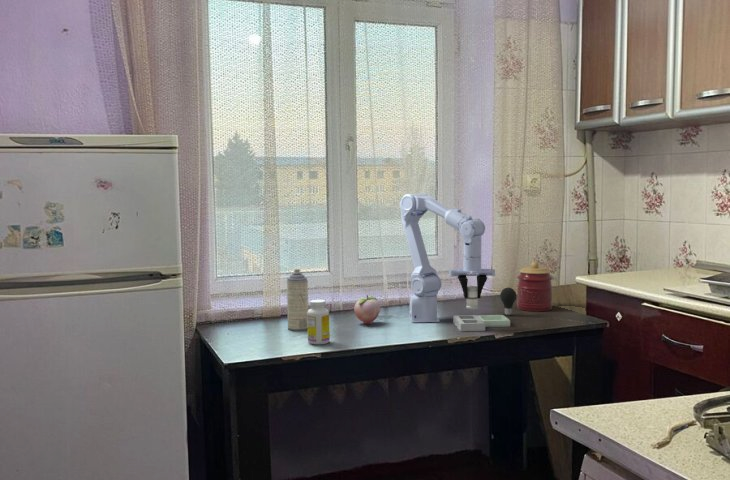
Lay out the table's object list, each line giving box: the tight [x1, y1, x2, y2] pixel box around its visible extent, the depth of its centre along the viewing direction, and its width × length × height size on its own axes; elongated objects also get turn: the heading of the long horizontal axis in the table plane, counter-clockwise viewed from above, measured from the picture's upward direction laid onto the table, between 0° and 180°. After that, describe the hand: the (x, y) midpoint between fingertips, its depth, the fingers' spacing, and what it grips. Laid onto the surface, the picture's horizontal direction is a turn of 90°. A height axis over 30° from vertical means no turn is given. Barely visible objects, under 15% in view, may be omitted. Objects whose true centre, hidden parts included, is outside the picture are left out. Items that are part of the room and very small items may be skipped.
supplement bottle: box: [307, 299, 331, 346], centre depth 213 cm, size 7×7×13 cm
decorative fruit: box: [353, 294, 381, 325], centre depth 238 cm, size 9×8×10 cm
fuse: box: [465, 285, 479, 310], centre depth 229 cm, size 4×4×7 cm
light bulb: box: [499, 287, 517, 317], centre depth 249 cm, size 6×6×10 cm
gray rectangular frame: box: [452, 314, 486, 332], centre depth 232 cm, size 8×13×2 cm, turn 3°
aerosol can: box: [286, 268, 309, 332], centre depth 231 cm, size 7×7×20 cm
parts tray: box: [476, 314, 511, 328], centre depth 236 cm, size 9×9×2 cm
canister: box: [516, 261, 554, 312], centre depth 261 cm, size 13×13×18 cm
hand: (472, 297), depth 229 cm, fingers closed on fuse, 4 cm apart
